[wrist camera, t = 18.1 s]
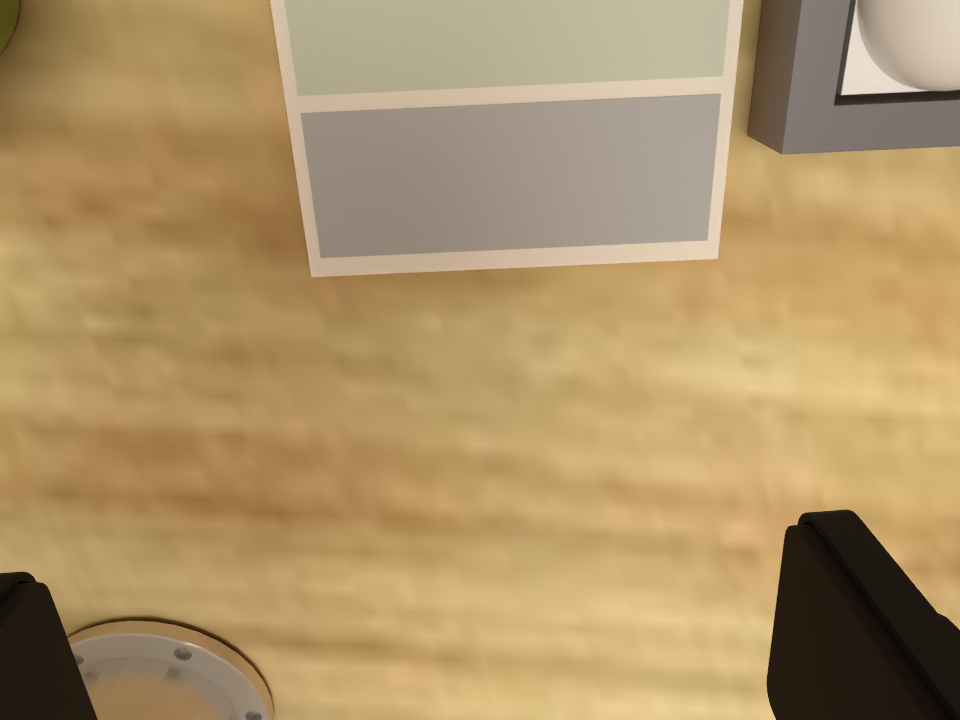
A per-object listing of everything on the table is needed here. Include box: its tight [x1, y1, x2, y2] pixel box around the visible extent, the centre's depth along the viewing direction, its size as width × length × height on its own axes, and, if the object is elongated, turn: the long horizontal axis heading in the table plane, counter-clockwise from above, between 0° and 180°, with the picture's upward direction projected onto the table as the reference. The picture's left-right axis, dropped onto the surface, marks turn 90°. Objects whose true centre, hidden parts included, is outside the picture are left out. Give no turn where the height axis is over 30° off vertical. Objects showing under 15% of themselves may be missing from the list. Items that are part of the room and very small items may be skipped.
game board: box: [270, 0, 744, 277], centre depth 26 cm, size 16×19×1 cm
